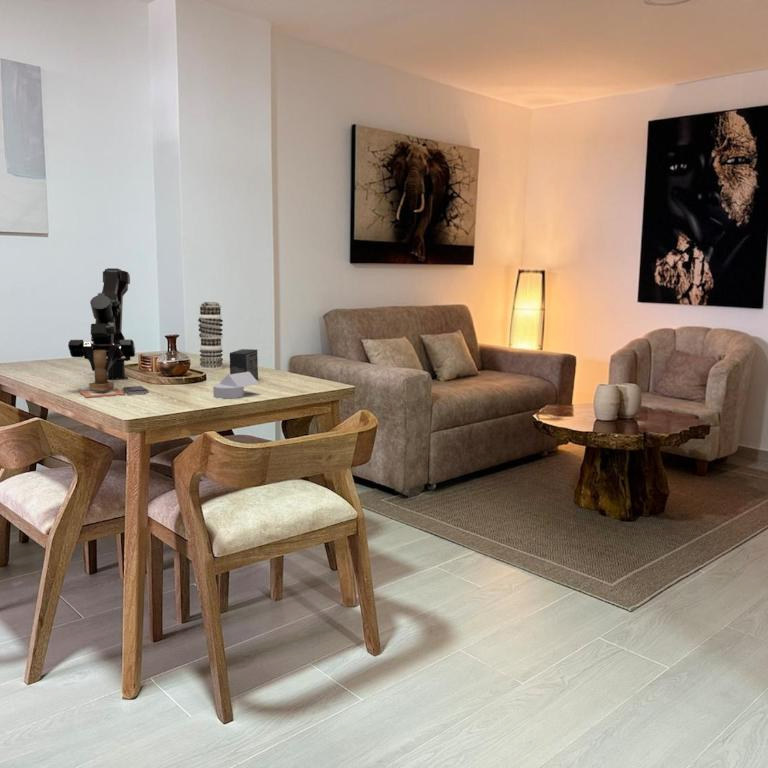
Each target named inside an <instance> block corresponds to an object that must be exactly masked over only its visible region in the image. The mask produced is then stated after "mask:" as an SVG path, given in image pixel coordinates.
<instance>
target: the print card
mask: <svg viewBox="0 0 768 768" xmlns="http://www.w3.org/2000/svg"><path fill="white" fill-rule="evenodd" d="M78 393H79V394H80V395H82V396H83V397H84V398H85V399H92V398H104V397H103V396H107V397H115V396H116V395H119V396H125V394H126V393H125V392H123V391H121V390H120V389H119V388H117V387H114V388H113V390H110V391H106V392H95V391H90V390H89V389H88V390H87V389H85V390H79V391H78ZM116 397H117V396H116Z"/></svg>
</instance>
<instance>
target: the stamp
mask: <svg viewBox="0 0 768 768" xmlns="http://www.w3.org/2000/svg"><path fill="white" fill-rule="evenodd" d="M93 355H94V371H93V372H94V382H91V383H88V387H89V389H88V390H90V391H95V392H106V391H110V390H113V388H115V384H114V381H109V380H108V378H107V371H106V363H107V359H106V358H107V357H106V350H93Z"/></svg>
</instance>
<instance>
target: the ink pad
mask: <svg viewBox="0 0 768 768" xmlns="http://www.w3.org/2000/svg"><path fill="white" fill-rule="evenodd" d="M123 391H124V392H123ZM122 392H123V393H124V394H126V393H127V395H128V396H133V395H132V394H139V395H145V394H144V393H149V394H150V390H148V389H147V388H146V387H144V386H142V385H138V386H137V385H136V386H135V385H134V386H124V387H122Z"/></svg>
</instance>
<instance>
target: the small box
mask: <svg viewBox="0 0 768 768" xmlns="http://www.w3.org/2000/svg"><path fill="white" fill-rule="evenodd" d="M258 358H259V357H258V349H253V348H251V349H246V348H245V349H244V348H243V349H242V348H241V349H238V350H235V351H232V352H229V375H230V374H236V373H243V372H250V373H251V374H252V375H253V377H254V378H255V379H256V380H258V379H259V369H258V368H259V366H258V365H259V364H258V363H259V361H258V360H259V359H258Z"/></svg>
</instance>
